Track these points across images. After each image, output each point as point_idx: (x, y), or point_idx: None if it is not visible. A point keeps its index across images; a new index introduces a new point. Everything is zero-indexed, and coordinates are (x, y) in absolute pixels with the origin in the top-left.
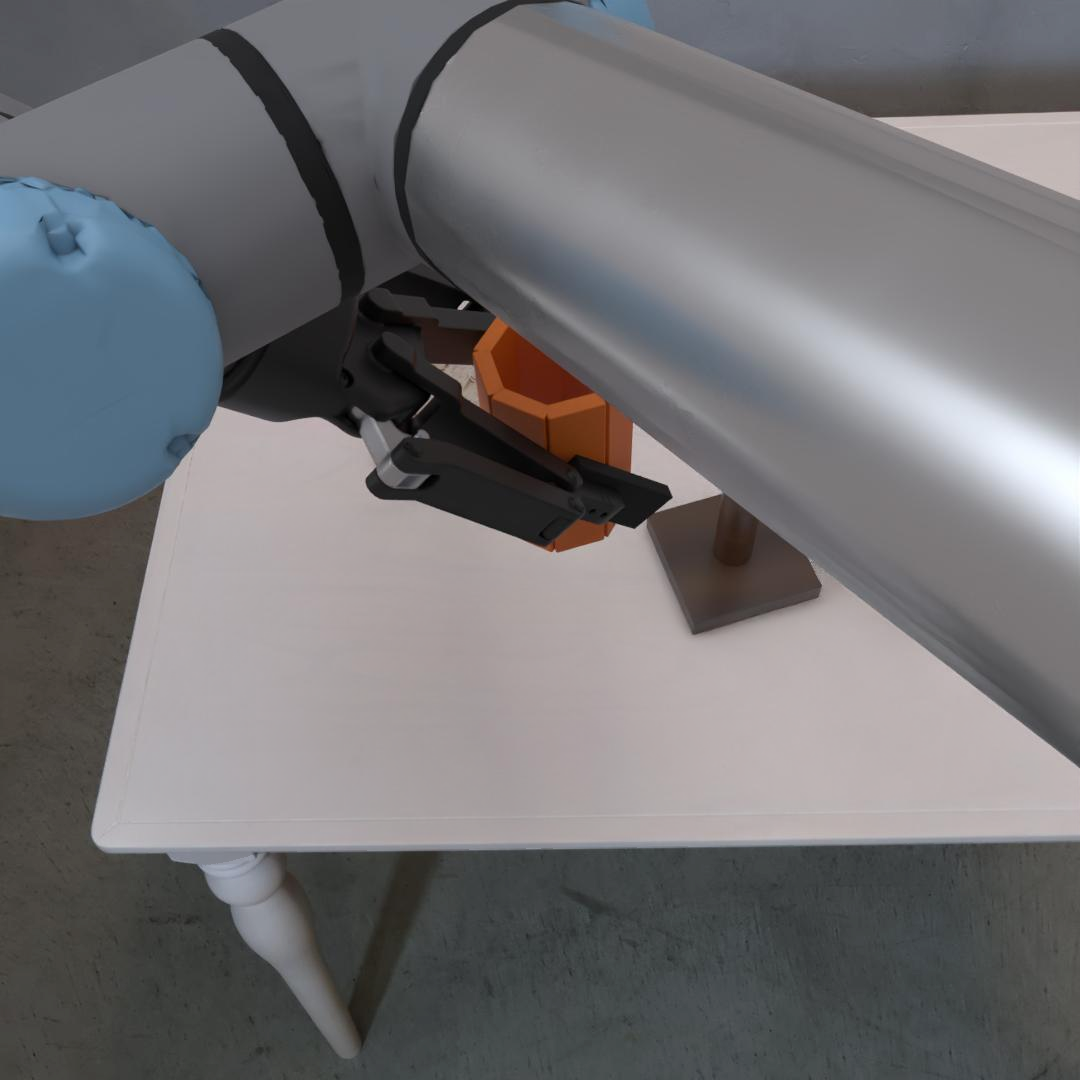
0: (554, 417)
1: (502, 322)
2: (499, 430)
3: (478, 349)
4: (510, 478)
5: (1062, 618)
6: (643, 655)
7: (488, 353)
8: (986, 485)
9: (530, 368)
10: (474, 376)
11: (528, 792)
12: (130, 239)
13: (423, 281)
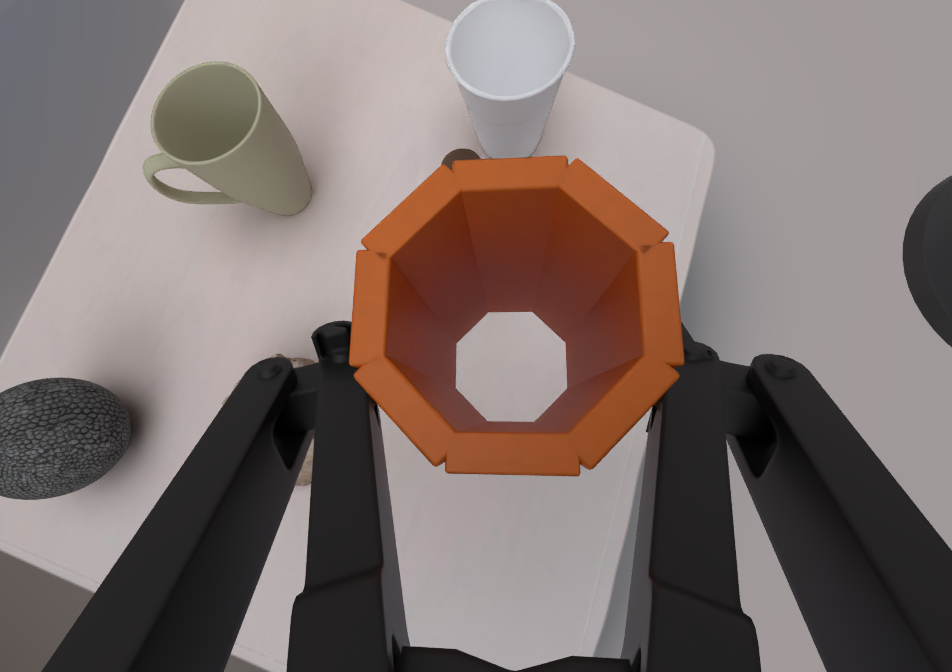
0: (683, 351)
1: (385, 381)
2: (698, 482)
3: (441, 456)
4: (879, 507)
5: None
6: (532, 339)
7: (462, 438)
8: None
9: (423, 353)
10: None
11: (610, 450)
12: None
13: (207, 540)
